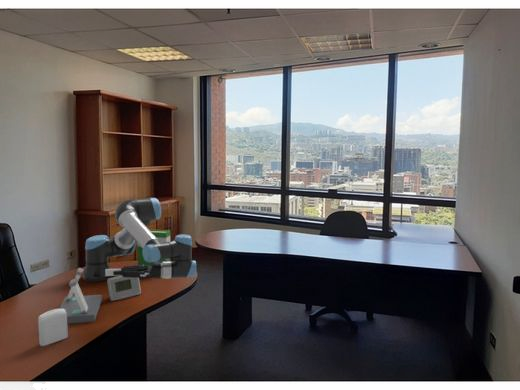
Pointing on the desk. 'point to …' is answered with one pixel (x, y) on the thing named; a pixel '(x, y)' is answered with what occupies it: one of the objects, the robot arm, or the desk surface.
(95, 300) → the switch unit
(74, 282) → the lever
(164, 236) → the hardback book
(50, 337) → the photo printer
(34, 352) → the desk surface
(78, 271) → the lever
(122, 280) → the digital clock
